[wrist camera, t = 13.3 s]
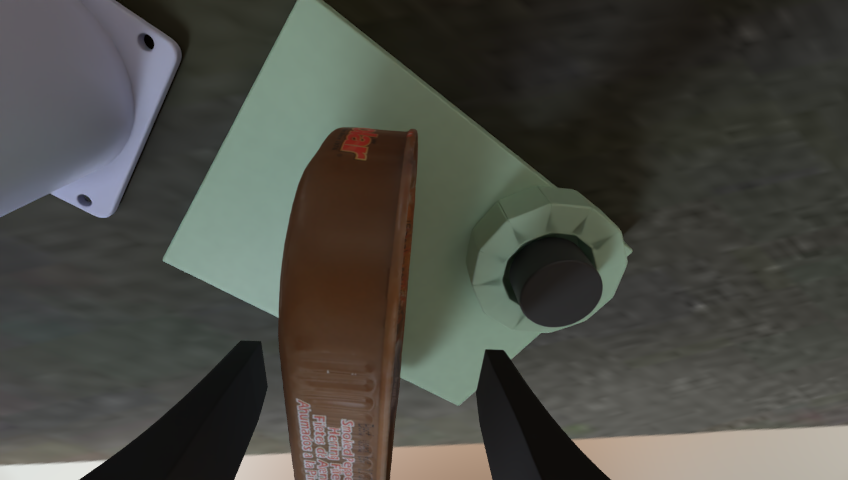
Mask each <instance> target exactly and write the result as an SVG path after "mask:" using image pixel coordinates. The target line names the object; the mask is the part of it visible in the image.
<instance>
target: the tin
mask: <svg viewBox="0 0 848 480" xmlns="http://www.w3.org/2000/svg"><path fill="white" fill-rule="evenodd" d="M417 162H418V133H417V130H416V129H410V130H409V131H407V132H404V131H390V130H379V129H371V128H358V127H341V128H337V129H335V130H334V131H332V132H331V133H330V134H329V135H328V136H327V138H326V139H325V140H324V142H323V143H322V145H321V146H320V148H319V150H318V151H317V152H316V154H315V155H314V157H313V158H312V159H311V161H310V162H309V163H308V165H307V166H306V168H305V170H304V172H303V174H302V177H301V179H300V181H299V184H298V187H297V190H296V194H295V197H294V201H293V204H292V209H291V213H290V218H289V223H288V228H287V233H286V238H285V243H284V251H283V258H282V266H281V276H280V291H279V326H278V336H279V352H280V360H281V371H282V379H283V389H284V398H285V406H286V414H287V422H288V431H289V441H290V446H291V455H292V462H293V469H294V477H295V480H390V470H391V462H392V450H393V439H394V428H395V419H396V410H397V403H398V395H399V386H400V373H401V361H402V348H403V338H404V326H405V314H406V302H407V291H408V278H409V267H410V256H411V244H412V233H413V219H414V208H415V191H416V187H415V186H416V178H417Z"/></svg>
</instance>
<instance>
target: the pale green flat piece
mask: <svg viewBox="0 0 848 480" xmlns="http://www.w3.org/2000/svg"><path fill="white" fill-rule="evenodd" d="M341 127H358V128H371V129H379V130H390V131H404V132H407V131H409V130H410V129H416V130H417V133H418V162H417V178H416V186H415V187H416V191H415V208H414V219H413V233H412V244H411V256H410V267H409V278H408V291H407V302H406V314H405V326H404V338H403V348H402V361H401V373H400V377H401V378H403V379H405V380H407V381H409V382H411V383H413V384H415V385H417V386H419V387H421V388H423V389H425V390H427V391H429V392H431V393H433V394H435V395H437V396H439V397H441V398H443V399H445V400H448V401H450V402H452V403H454V404H456V405H458V406H459V405H460V404H462V403H463V402H464V401H465V400H466V399H467V398H468V397H469V396H471V395H472V394H473V393H474V392H475V391H476V390H477V386H478V381H479V376H480V372H481V367H482V362H483V358H484V353H485V349H493V350H504V351H505V352H506V353H507V355H508V357H509V358H510V360H511V359H512V358H513V357H515V356H516V355H517V354H518V353H519V352H520V351H521V350H522V349H524V348H525V347H526V346H527V345H528V344H529V343H530V342H531V341H533V340H534V339H535V338H536V337H537V336H538V335H539V334H540V333H551V332H554V331H557V330H560V329H563V328H566V327H569V326H572V325H575V324H578V323H581V322H584V321H586V320H587V319H588V318H589V317H591V316H592V315H593V314H594V313H595V312H596V311H598V310H599V309H600V308H601V307H602V306H603V305H605V304H606V303H607V302H608V301H609V300H610V299H612V298H613V297H614V296H613V295H614V294H615V292H616V290H617V287H618V285H619V283H620V280H621V278H622V276H623V273H624V271H625V269H626V266H627V263H628V261H627V256H628V255H629V254H630V253H632V251H633V250H632V249H631V248H630V247H629V246H628V245H627V244H626V243H625V242H624V241H623V236H622V232H621V230H620V229H619V227H618V226H617V225H616V224H615V223H613V222H612V221H611V220H610V219H609V218H608V217H607V216H606V215H605V214H604V213H603V212H602V211H601V210H600V209H599V208H598V207H596V206H595V205H594V204H593V203H591V202H590V201H589V200H588V199H586V198H585V197H584V196H583V195H582V194H580V193H579V192H578V191H576V190H573V189H565V188H557V187H556V186H555V185H554V184H552V183H551V182H550V181H549V180H547V179H546V178H545V177H544V176H542V175H541V174H540V173H539V172H537V171H536V170H535V169H534V168H532V167H531V166H530V165H529V164H527V163H526V162H525V161H524V160H522V159H521V158H520V157H519V156H517V155H516V154H515V153H514V152H512V151H511V150H510V149H509V148H507V147H506V146H505V145H504V144H502V143H501V142H500V141H499V140H497V139H496V138H495V137H494V136H492V135H491V134H490V133H489V132H487V131H486V130H485V129H484V128H482V127H481V126H480V125H479V124H477V123H476V122H475V121H474V120H472V119H471V118H470V117H468V116H467V115H466V114H465V113H463V112H462V111H461V110H460V109H458V108H457V107H456V106H455V105H453V104H452V103H451V102H450V101H448V100H447V99H446V98H445V97H443V96H442V95H441V94H440V93H438V92H437V91H436V90H435V89H433V88H432V87H431V86H430V85H428V84H427V83H426V82H425V81H423V80H422V79H421V78H420V77H418V76H417V75H416V74H415V73H413V72H412V71H411V70H410V69H408V68H407V67H406V66H405V65H403V64H402V63H401V62H400V61H398V60H397V59H396V58H395V57H393V56H392V55H391V54H390V53H388V52H387V51H386V50H384V49H383V48H382V47H381V46H379V45H378V44H377V43H376V42H374V41H373V40H372V39H371V38H369V37H368V36H367V35H366V34H364V33H363V32H362V31H361V30H359V29H358V28H357V27H356V26H354V25H353V24H352V23H351V22H349V21H348V20H347V19H346V18H344V17H343V16H342V15H341V14H339V13H338V12H337V11H336V10H334V9H333V8H332V7H331V6H329V5H328V4H327V3H326V2H324V1H323V0H297V1H296V3H295V5H294V7H293V9H292V11H291V13H290V15H289V17H288V19H287V21H286V23H285V25H284V26H283V28H282V30H281V32H280V34H279V36H278V38H277V40H276V42H275V44H274V46H273V48H272V50H271V51H270V53H269V55H268V57H267V59H266V61H265V63H264V65H263V67H262V69H261V71H260V73H259V75H258V76H257V78H256V80H255V82H254V84H253V86H252V88H251V90H250V92H249V94H248V96H247V98H246V100H245V101H244V103H243V105H242V107H241V109H240V111H239V113H238V115H237V117H236V119H235V121H234V123H233V125H232V126H231V128H230V130H229V132H228V134H227V136H226V138H225V140H224V142H223V144H222V146H221V148H220V150H219V151H218V153H217V155H216V157H215V159H214V161H213V163H212V165H211V167H210V169H209V171H208V173H207V175H206V176H205V178H204V180H203V182H202V184H201V186H200V188H199V190H198V192H197V194H196V196H195V198H194V200H193V201H192V203H191V205H190V207H189V209H188V211H187V213H186V215H185V217H184V219H183V221H182V223H181V225H180V226H179V228H178V230H177V232H176V234H175V236H174V238H173V240H172V242H171V244H170V246H169V248H168V250H167V251H166V253H165V255H164V257H163V261H164V262H166V263H168V264H170V265H172V266H174V267H176V268H178V269H180V270H182V271H184V272H187V273H189V274H191V275H193V276H195V277H197V278H199V279H201V280H203V281H205V282H207V283H209V284H211V285H213V286H215V287H217V288H219V289H221V290H223V291H225V292H227V293H229V294H231V295H233V296H235V297H238V298H240V299H242V300H244V301H246V302H248V303H250V304H252V305H254V306H256V307H258V308H260V309H262V310H264V311H266V312H268V313H270V314H272V315H274V316H276V317H278V318H279V291H280V276H281V266H282V258H283V251H284V243H285V238H286V233H287V228H288V223H289V218H290V213H291V209H292V204H293V201H294V197H295V194H296V190H297V187H298V184H299V181H300V179H301V177H302V174H303V172H304V170H305V168H306V166H307V165H308V163H309V162H310V161H311V159H312V158H313V157H314V155H315V154H316V152H317V151H318V150H319V148H320V146H321V145H322V143H323V142H324V140H325V139H326V138H327V136H328V135H329V134H330V133H331V132H332V131H334V130H335V129H337V128H341ZM547 237H559V238H564V239H567V240H570V241H572V242H573V243H575V244H576V245H577V246H578V247H579V248H580V249H581V250H582V252H583V253H584V254H585V255H586V257H587V258H588V259H589V261H590V262H591V263H592V265H593V266H594V267H595V268H596V270H597V271H598V272H599V274H600V276H601V279H602V283H603V291H602V296H601V299H600V301H599V303H598V304H597V306H596V307H595V308H594V310H593V311H592V312H591V313H590V314H589V315H587V316H586V317H585V318H583V319H581V320H580V321H578V322H576V323H573V324H571V325H567V326H563V327H544V326H540V325H538V324H536V323H534V322H532V321H531V320H529V319H528V318H527V317H526V316H525V315H524V313H523V312H522V310H521V308H520V305H519V303H518V300H517V298H516V295H515V293H514V290H513V288H512V285H511V282H510V278H509V272H510V267H511V264H512V262H513V260H514V258H515V256H516V255H517V254H518V253H519V251H521V250H522V249H523V248H524V247H525V246H527V245H528V244H530V243H532V242H534V241H536V240H539V239H542V238H547Z"/></svg>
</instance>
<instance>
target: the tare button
mask: <svg viewBox="0 0 848 480" xmlns="http://www.w3.org/2000/svg"><path fill="white" fill-rule="evenodd" d="M509 278H510V282H511V285H512V288H513V290H514V293H515V295H516V298H517V300H518V303H519V305H520V308H521V310H522V312H523V313H524V315H525V316H526V317H527V318H528V319H529V320H531V321H532V322H534V323H536V324H538V325H540V326H544V327H563V326H567V325H571V324H573V323H576V322H578V321H580V320H581V319H583V318H585V317H586V316H587V315H589V314H590V313H591V312H592V311H593V310H594V308H595V307H596V306H597V304H598V303H599V301H600V299H601V296H602V291H603V283H602V279H601V276H600V274H599V272H598V271H597V270H596V268H595V267H594V266H593V265H592V263H591V262H590V261H589V259H588V258H587V257H586V255H585V254H584V253H583V252H582V250H581V249H580V248H579V247H578V246H577V245H576V244H575V243H573V242H572V241H570V240H567V239H564V238H559V237H547V238H542V239H539V240H536V241H534V242H532V243H530V244H528V245H527V246H525V247H524V248H523V249H522V250H521V251H519V253H518V254H517V255H516V256H515V258H514V260H513V262H512V264H511V267H510V272H509Z"/></svg>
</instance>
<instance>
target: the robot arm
mask: <svg viewBox="0 0 848 480" xmlns="http://www.w3.org/2000/svg"><path fill="white" fill-rule="evenodd" d="M146 34H148V35H149V36H150V37H151V38H152V39H153V41H154V48H153V49H150V48H148V47H147V46H146V44H145V42H144V36H145V35H146ZM181 58H182V53H181V49H180V47H179V46H178V44H177V43H176V42H175V41H174V40H173V39H172V38H171V37H169V36H168V35H166V34H165V33H163V32H162V31H160V30H159V29H157V28H156V27H154V26H153V25H151V24H150V23H148V22H147V21H145V20H144V19H142V18H141V17H139V16H138V15H136V14H135V13H133V12H132V11H130V10H129V9H127V8H126V7H124V6H123V5H121V4H120V3H118V2H117V1H115V0H0V217H2V216H4V215H6V214H8V213H10V212H12V211H14V210H16V209H18V208H20V207H22V206H24V205H26V204H28V203H30V202H33V201H35V200H37V199H39V198H41V197H43V196H45V195H47V194H49V193H50V194H52V195H54V196H56V197H58V198H60V199H62V200H64V201H66V202H68V203H70V204H72V205H74V206H76V207H78V208H80V209H82V210H84V211H86V212H88V213H90V214H92V215H94V216H97V217H100V218H106V217H109V216H111V215H112V214H114V213H115V211H116V210H117V208H118V206H119V203H120V201H121V199H122V196H123V194H124V192H125V189H126V187H127V185H128V182H129V180H130V178H131V175H132V173H133V171H134V168H135V166H136V164H137V162H138V159H139V157H140V155H141V152H142V150H143V148H144V145H145V143H146V141H147V138H148V136H149V134H150V131H151V129H152V127H153V124H154V122H155V120H156V118H157V115H158V113H159V111H160V108H161V106H162V104H163V101H164V99H165V97H166V94H167V92H168V90H169V87H170V85H171V83H172V80H173V78H174V76H175V74H176V71H177V69H178V67H179V64H180V62H181ZM84 195H87V196H88V197H89V198H90V199H91V201H92V202H89V201H88V200H87V199H86V198H85V196H84ZM267 387H268V386H267V379H266V372H265V366H264V359H263V352H262V345H261V341H240V342H239V343H238V344H237V345H236V346H235V347H234V348H233V349H232V350H231V351H230V352H229V353H228V354H227V355H226V356H225V357H224V358H223V359H222V360H221V361H220V362H219V363H218V364H217V365H216V366H215V367H214V368H213V370H212V371H211V372H210V373H209V374H208V375H207V376H206V377H204V378H203V379H202V380H201V381H200V382H199V383H198V384H197V385H196V386H195V387H194V388H193V389H192V390H191V391H190V392H189V393H188V394H187V395H186V396H185V397H184V398H183V399H181V400H180V401H179V402H178V403H177V404H176V405H175V406H174V407H173V408H171V409H170V410H169V411H168V412H167V413H166V414H165V415H164V416H162V417H161V418H160V419H159V420H158V421H157V422H155V423H154V424H153V425H152V426H151V427H149V428H148V429H147V430H146V431H145V432H143V433H142V434H141V435H140V436H138V437H137V438H136V439H135V440H133V441H132V442H131V443H129V444H128V445H127V446H126V447H124V448H123V449H122V450H120V451H119V452H118V453H116V454H115V455H114V456H112V457H111V458H109V459H108V460H107V461H105V462H104V463H103V464H101V465H100V466H98V467H97V468H95V469H94V470H93V471H91V472H90V473H88V474H87V475H85V476H84V477H83V478H81V479H80V480H234V479H235V476H236V474H237V471H238V469H239V466H240V464H241V462H242V459H243V457H244V454H245V452H246V449H247V447H248V445H249V442H250V440H251V437H252V435H253V432H254V430H255V427H256V425H257V422H258V420H259V416H260V413H261V409H262V406H263V402H264V399H265V395H266V391H267ZM476 396H477V406H478V414H479V422H480V427H481V432H482V436H483V441H484V445H485V449H486V453H487V457H488V462H489V466H490V470H491V475H492V479H493V480H610V478H608V477H607V476H606V475H605V474H604V473H603V472H602V471H601V470H600V469H599V468H598V467H597V466H596V465H595V464H594V463H593V462H592V461H591V460H590V459H589V458H588V457H587V456H586V455H585V454H584V453H583V452H582V451H581V450H580V449H579V448H578V447H577V446H576V445H575V443H574V442H573V441H572V440H571V439H570V438H569V437H568V436H567V434H566V433H565V432H564V431H563V430H562V429H561V427H560V426H559V425H558V424H557V423H556V421H555V420H554V419H553V418H552V417H551V415H550V414H549V413H548V411H547V410H546V409H545V408H544V406H543V405H542V404H541V402H540V401H539V400H538V398H537V397H536V396H535V394H534V393H533V392H532V390H531V389H530V387H529V386H528V385H527V383H526V382H525V380H524V379H523V377H522V376H521V375H520V373H519V372H518V370H517V369H516V367H515V366H514V364H513V363H512V361H511V360H510V358H509V357H508V355H507V353H506V352H505V351H504V350H493V349H485V353H484V358H483V362H482V367H481V372H480V376H479V381H478V386H477V390H476Z"/></svg>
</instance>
